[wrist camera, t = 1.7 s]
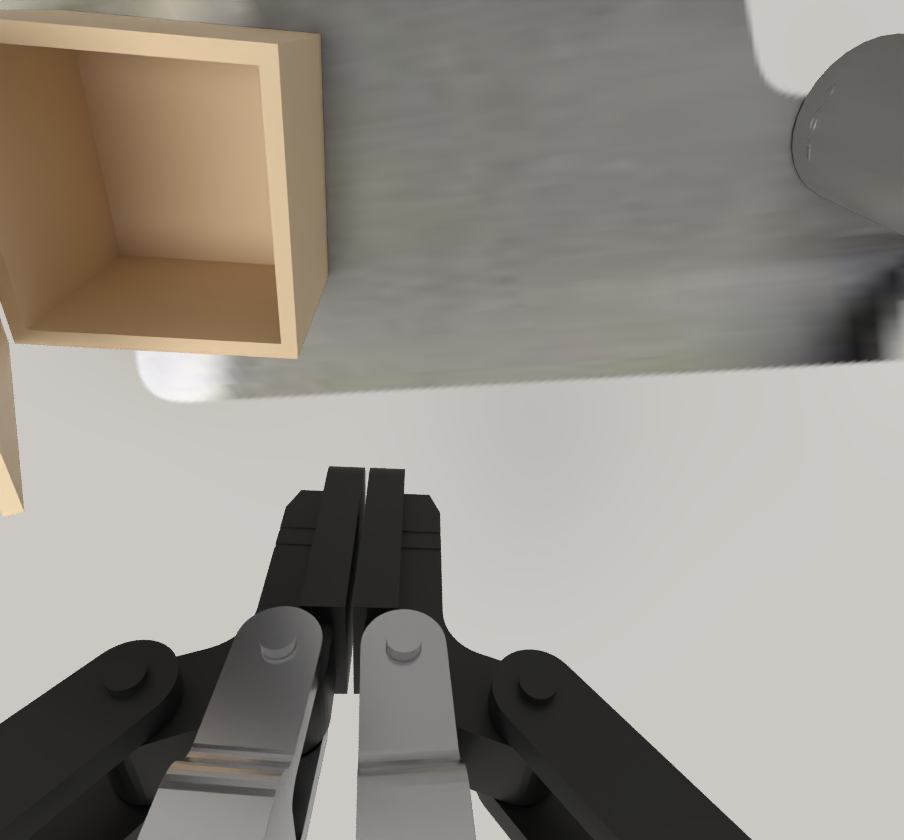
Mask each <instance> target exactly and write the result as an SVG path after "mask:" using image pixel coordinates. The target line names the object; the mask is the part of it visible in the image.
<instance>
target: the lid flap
mask: <svg viewBox="0 0 904 840" xmlns="http://www.w3.org/2000/svg"><path fill="white" fill-rule="evenodd" d="M0 510H1V512H2V515H3V517H6V516H10V515H14V514H18V513H22V512H24V505H23V494H22V483H21V472H20V461H19V450H18V439H17V428H16V417H15V406H14V395H13V384H12V373H11V362H10V351H9V342H8V340H7V337H6V334H5V331H4V328H3V326H2V322H1V319H0Z"/></svg>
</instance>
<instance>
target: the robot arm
mask: <svg viewBox="0 0 904 840" xmlns="http://www.w3.org/2000/svg"><path fill="white" fill-rule="evenodd" d="M792 153H793V160H794V165H795V168H796V170H797V172H798V175H799V177H800V179H801V180H802V181H803V182H804V184H805V185H806V186H807V187H808V188H809V189H810V190H812V191H813V192H815V193H816V194H818V195H819V196H822V197H824V198H826V199H828V200H830V201H832V202H834V203H836V204H838V205H840V206H843V207H845V208H847V209H849V210H851V211H852V212H854V213H857V214H859V215H861V216H863V217H865V218H867V219H869V220H871V221H873V222H876V223H878V224H880V225H882V226H884V227H886V228H888V229H890V230H892V231H895V232H897V233H899V234H901V235H903V236H904V34H894V35H886V36H881V37H878V38H875V39H872V40H869V41H867V42H864V43H862V44H861V45H859V46H857V47H855V48H854V49H852V50H850V51H849V52H847V53H845V54H844V55H843V56H842V57H841V58H839V59H838V60H837V61H836V62H835V63H833V64H832V65H831V66H830V67H829V68H828V69H827V71H825V73H824V74H823V75H822V76H821V77H820V78H819V79H818V80H817V82H816V83H815V85H814V87H813V88H812V90H811V91H810V92H809V94H808V96H807V97H806V99H805V101H804V103H803V105H802V108H801V110H800V112H799V114H798V117H797V120H796V124H795V128H794V132H793V143H792ZM404 477H405V469H386V468H370V472H369V480H368V488H367V496H366V504H365V468H358V467H333V466H332V467H331V466H330V467H329V468H328V472H327V477H326V482H325V487H324V491H309V490H301V491H300V492H299V493H298V495H297V496H296V497H295V498H294V499H293V500H292V501H291V502H290V503H289V504H288V506H287V507H286V509H285V513H284V516H283V520H282V523H281V527H280V531H279V534H278V538H277V541H276V547H275V548H274V552H273V555H272V559H271V562H270V566H269V569H268V573H267V577H266V580H265V584H264V587H263V591H262V594H261V598H260V601H259V605H258V608H257V611H256V613H255V615H254V616H252V617H251V618H250V619H248V620H247V621H246V622H245V623H244V624H243V625H242V627H241V628H240V629H239V631H238V632H237V634H236V636H235V637H233V638H232V639H230V640H228V641H227V642H224V643H222V644H220V645H218V646H215V647H212V648H208V649H205V650H201V651H197V652H193V653H189V654H185V655H181V656H177V657H176V656H175V654H174V652H173V651H172V650H171V649H170V648H169V647H167V646H166V645H164V644H162V643H159V642H156V641H151V640H136V641H131V642H126V643H123V644H121V645H118V646H116V647H113V648H111V649H109V650H108V651H106V652H104V653H103V654H101V655H100V656H98V657H97V658H95V659H94V660H92V661H91V662H89V663H88V664H87V665H85V666H84V667H82V668H81V669H79V670H78V671H76V672H75V673H73V674H72V675H71V676H69V677H68V678H66V679H65V680H63V681H62V682H60V683H59V684H57V685H56V686H55V687H53V688H52V689H50V690H49V691H47V692H46V693H44V694H43V695H41V696H40V697H39V698H37V699H36V700H34V701H33V702H31V703H30V704H29V705H27V706H25V707H24V708H22V709H21V710H19V711H18V712H17V713H15V714H14V715H12V716H11V717H9V718H8V719H6V720H5V721H4V722H2V723H1V724H0V840H306V838H307V832H308V828H309V823H310V819H311V814H312V809H313V804H314V799H315V794H316V790H317V785H318V780H319V776H320V771H321V766H322V761H323V756H324V752H325V747H326V742H327V735H328V727H329V723H330V718H331V711H332V704H333V696H334V694H347V690H348V682H349V672H350V663H351V656H352V647H353V654H354V655H353V658H354V694H360V703H359V704H360V705H359V752H358V753H359V754H358V755H359V756H358V776H357V818H356V840H476V835H475V827H474V818H473V810H472V802H471V794H470V789H472V790H474V791H477V794H478V796H479V798H480V800H481V802H482V803H483V805H484V806H485V807H486V809H487V810H488V811H489V812H490V814H491V815H492V816H493V817H494V818H495V820H496V821H497V822H498V824H499V825H500V826H501V828H502V829H503V830H504V831H505V833H506V834H507V835H508V836H509V838H510V839H511V840H751V838H749V837H748V836H747V835H746V834H745V833H744V832H743V831H742V830H741V829H740V828H739V827H738V826H737V825H736V824H735V823H734V822H733V821H731V820H730V819H729V818H728V817H727V816H726V815H725V814H724V813H723V812H722V811H721V810H720V809H719V808H718V807H717V806H716V805H715V804H713V803H712V802H711V801H710V800H709V799H708V798H707V797H706V796H705V795H704V794H703V793H702V792H701V791H700V790H699V789H698V788H696V787H695V786H694V785H693V784H692V783H691V782H690V781H689V780H688V779H687V778H686V777H685V776H684V775H683V774H682V773H681V772H680V771H678V770H677V769H676V768H675V767H674V766H673V765H672V764H671V763H670V762H669V761H668V760H667V759H666V758H665V757H663V755H661V754H660V753H659V752H658V751H657V750H656V749H655V748H654V747H653V746H652V745H651V744H650V743H649V742H648V741H647V740H646V739H645V738H644V737H642V736H641V735H640V734H639V733H638V732H637V731H636V730H635V729H634V728H633V727H632V726H631V725H630V724H629V723H627V721H625V720H624V719H623V718H622V717H621V716H620V715H619V714H618V713H617V712H616V711H615V710H614V709H612V707H611V706H610V705H609V704H607V703H606V702H605V701H604V700H603V699H602V698H601V697H600V696H599V695H598V694H597V693H596V692H595V691H594V690H593V689H592V688H591V687H589V686H588V685H587V684H586V683H585V682H584V681H583V680H582V679H581V678H580V677H579V676H578V675H577V674H576V673H575V672H574V671H572V670H571V669H570V668H569V667H568V666H567V665H566V664H565V663H564V662H562V661H561V660H560V659H558V658H557V657H555V656H553V655H551V654H549V653H546V652H543V651H539V650H521V651H517V652H514V653H511V654H510V655H508V656H506V657H505V658H504V659H503V660H502V661H500V660H497V659H494V658H491V657H488V656H485V655H482V654H479V653H476V652H474V651H471V650H469V649H468V648H466V647H464V646H463V645H461V644H460V643H459V642H458V641H457V640H456V639H455V638H454V637H453V636H452V635H451V634H450V632H449V631H448V629H447V627H446V625H445V622H444V619H443V611H442V578H441V577H442V576H441V575H442V574H441V538H440V512H439V510H438V509H437V507H436V505H435V504H434V502H433V501H432V499H431V497H430V496H429V495H416V494H404Z"/></svg>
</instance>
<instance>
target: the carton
mask: <svg viewBox="0 0 904 840" xmlns="http://www.w3.org/2000/svg"><path fill="white" fill-rule="evenodd" d="M327 278H328V245H327V213H326V181H325V148H324V116H323V84H322V52H321V34H318V33H307V32H296V31H286V30H275V29H264V28H253V27H242V26H231V25H220V24H209V23H198V22H187V21H176V20H165V19H155V18H144V17H133V16H122V15H111V14H100V13H89V12H78V11H67V10H0V301H1V304H2V307H3V310H4V313H5V315H6V319H7V321H8V324H9V327H10V330H11V333H12V336H13V339H14V342H15V343H16V344H33V345H51V346H69V347H88V348H89V347H90V348H107V349H125V350H144V351H162V352H181V353H199V354H218V355H236V356H255V357H274V358H292V359H298V357H299V355H300V352H301V349H302V346H303V344H304V341H305V338H306V336H307V333H308V330H309V327H310V325H311V322H312V319H313V316H314V314H315V311H316V308H317V306H318V303H319V300H320V297H321V295H322V292H323V289H324V286H325V284H326V281H327Z"/></svg>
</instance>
